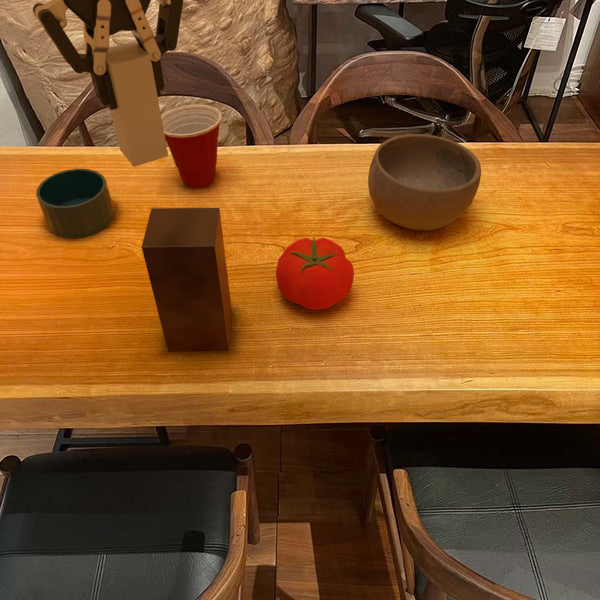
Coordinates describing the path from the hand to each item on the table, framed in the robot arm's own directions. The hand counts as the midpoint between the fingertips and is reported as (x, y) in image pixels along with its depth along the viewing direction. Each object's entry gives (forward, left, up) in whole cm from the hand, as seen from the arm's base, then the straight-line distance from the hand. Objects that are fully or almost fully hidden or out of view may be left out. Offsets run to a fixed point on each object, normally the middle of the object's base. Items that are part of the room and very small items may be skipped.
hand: (132, 99), depth 60 cm
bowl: (+43, 0, -31) cm, 53 cm away
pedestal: (+1, -5, -31) cm, 32 cm away
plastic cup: (+16, +28, -31) cm, 45 cm away
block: (0, 0, -6) cm, 6 cm away
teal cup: (-5, +28, -31) cm, 42 cm away
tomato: (+18, -7, -31) cm, 37 cm away
